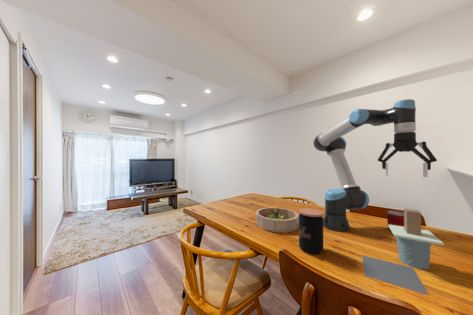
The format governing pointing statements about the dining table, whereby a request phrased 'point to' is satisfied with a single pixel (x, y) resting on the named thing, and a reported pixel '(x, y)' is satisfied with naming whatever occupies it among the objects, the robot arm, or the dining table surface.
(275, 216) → the plant
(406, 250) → the blue pot
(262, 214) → the cachepot ring
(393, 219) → the canned food
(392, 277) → the mat
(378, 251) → the dining table surface
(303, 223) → the coffee jar
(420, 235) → the lid
